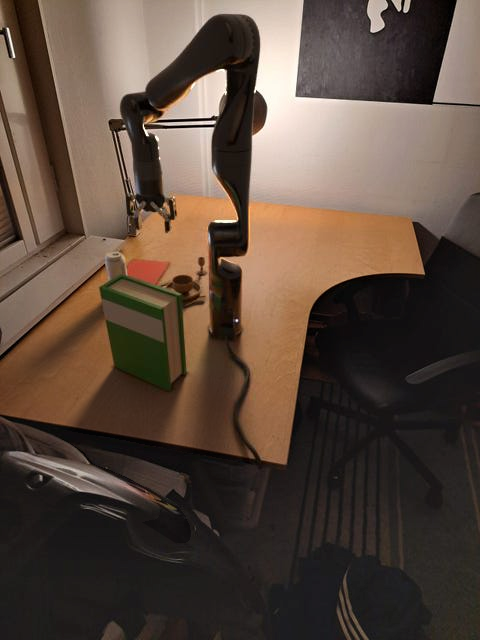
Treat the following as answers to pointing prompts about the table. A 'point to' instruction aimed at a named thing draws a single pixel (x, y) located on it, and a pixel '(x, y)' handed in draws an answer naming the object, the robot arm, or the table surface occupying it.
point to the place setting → (187, 284)
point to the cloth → (146, 270)
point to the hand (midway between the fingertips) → (153, 230)
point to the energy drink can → (115, 264)
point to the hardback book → (145, 329)
